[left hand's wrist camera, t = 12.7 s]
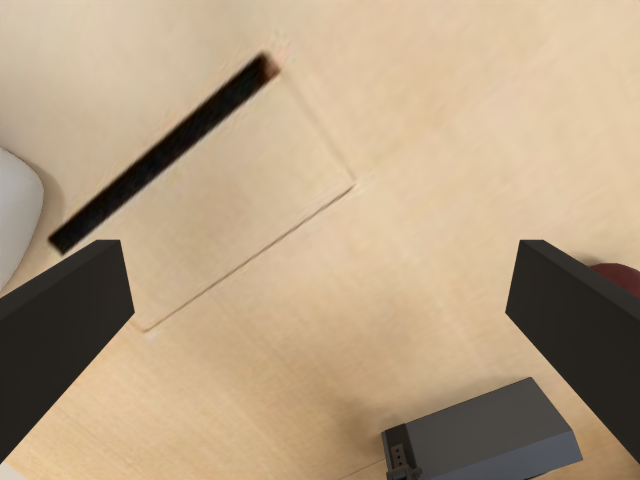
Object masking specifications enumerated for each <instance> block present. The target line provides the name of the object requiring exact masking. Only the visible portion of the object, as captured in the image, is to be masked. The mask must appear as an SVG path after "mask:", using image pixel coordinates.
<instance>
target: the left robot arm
mask: <svg viewBox="0 0 640 480" xmlns="http://www.w3.org/2000/svg"><path fill="white" fill-rule="evenodd" d="M134 313H135V311H134V306H133V301H132V296H131V291H130V286H129V281H128V277H127V272H126V267H125V262H124V257H123V252H122V247H121V242H120V240H96V241H94V242H92V243H91V244H89V245H87V246H86V247H84V248H82V249H81V250H79V251H77V252H76V253H74V254H73V255H71V256H69V257H68V258H66V259H64V260H63V261H61V262H59V263H58V264H56V265H54V266H53V267H51V268H49V269H48V270H46V271H45V272H43V273H41V274H40V275H38V276H36V277H35V278H33V279H31V280H30V281H28V282H26V283H25V284H23V285H22V286H20V287H18V288H17V289H15V290H13V291H12V292H10V293H8V294H7V295H5V296H3V297H2V298H0V464H1V463H2V462H3V461H4V460H5V459H6V457H7V456H8V455H9V454H10V453H11V452H12V451H13V449H14V448H15V447H16V446H17V445H18V444H19V443H20V442H21V440H22V439H23V438H24V437H25V436H26V435H27V434H28V433H29V431H30V430H31V429H32V428H33V427H34V426H35V425H36V424H37V422H38V421H39V420H40V419H41V418H42V417H43V416H44V415H45V413H46V412H47V411H48V410H49V409H50V408H51V407H52V406H53V404H54V403H55V402H56V401H57V400H58V399H59V398H60V397H61V395H62V394H63V393H64V392H65V391H66V390H67V389H68V387H69V386H70V385H71V384H72V383H73V382H74V381H75V380H76V378H77V377H78V376H79V375H80V374H81V373H82V372H83V371H84V369H85V368H86V367H87V366H88V365H89V364H90V363H91V362H92V360H93V359H94V358H95V357H96V356H97V355H98V354H99V353H100V351H101V350H102V349H103V348H104V347H105V346H106V345H107V344H108V342H109V341H110V340H111V339H112V338H113V337H114V336H115V335H116V333H117V332H118V331H119V330H120V329H121V328H122V327H123V326H124V324H125V323H126V322H127V321H128V320H129V319H130V318H131V316H132V315H133V314H134ZM505 313H506V314H507V315H508V316H509V318H510V319H511V320H512V321H513V322H514V323H515V324H516V326H517V327H518V328H519V329H520V330H521V331H522V332H523V333H524V335H525V336H526V337H527V338H528V339H529V340H530V341H531V342H532V344H533V345H534V346H535V347H536V348H537V349H538V350H539V351H540V353H541V354H542V355H543V356H544V357H545V358H546V359H547V360H548V362H549V363H550V364H551V365H552V366H553V367H554V368H555V369H556V371H557V372H558V373H559V374H560V375H561V376H562V377H563V378H564V380H565V381H566V382H567V383H568V384H569V385H570V386H571V387H572V389H573V390H574V391H575V392H576V393H577V394H578V395H579V397H580V398H581V399H582V400H583V401H584V402H585V403H586V404H587V406H588V407H589V408H590V409H591V410H592V411H593V412H594V413H595V415H596V416H597V417H598V418H599V419H600V420H601V421H602V422H603V424H604V425H605V426H606V427H607V428H608V429H609V430H610V431H611V433H612V434H613V435H614V436H615V437H616V438H617V439H618V440H619V442H620V443H621V444H622V445H623V446H624V447H625V448H626V449H627V451H628V452H629V453H630V454H631V455H632V456H633V457H634V459H635V460H636V461H637V462H638V463H639V464H640V298H638V297H637V296H635V295H633V294H632V293H630V292H628V291H627V290H625V289H623V288H622V287H620V286H618V285H617V284H615V283H614V282H612V281H610V280H609V279H607V278H605V277H604V276H602V275H600V274H599V273H597V272H595V271H594V270H592V269H591V268H589V267H587V266H586V265H584V264H582V263H581V262H579V261H577V260H576V259H574V258H572V257H571V256H569V255H567V254H566V253H564V252H563V251H561V250H559V249H558V248H556V247H554V246H553V245H551V244H549V243H548V242H546V241H544V240H520V242H519V247H518V252H517V257H516V262H515V267H514V272H513V277H512V281H511V286H510V291H509V296H508V301H507V306H506V311H505Z"/></svg>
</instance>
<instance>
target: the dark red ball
mask: <svg viewBox="0 0 640 480" xmlns="http://www.w3.org/2000/svg"><path fill="white" fill-rule="evenodd" d="M590 268H591V269H592V270H594V271H595V272H597V273H599V274H600V275H602V276H604V277H605V278H607V279H609V280H610V281H612V282H614V283H615V284H617V285H618V286H620V287H622V288H623V289H625V290H627V291H628V292H630V293H632V294H633V295H635V296H637V297H638V298H640V272H639V271H638V270H636V269H633V268H630V267H628V266H625V265H621V264H617V263H606V264H598V265H595V266H592V267H590Z"/></svg>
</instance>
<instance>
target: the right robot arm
mask: <svg viewBox="0 0 640 480" xmlns="http://www.w3.org/2000/svg"><path fill="white" fill-rule="evenodd" d="M385 435H386V440H387V445H388V451H389V456H390V461H391V466H392V470H391V471H388V472H387V473H386V475H387V480H418V478H419V477H420V475H421V474H422V473H423V471H422V469H421V467H419V468H418V467H417V463H416V459H415V456H414V452H413V448H412V444H411V441H410V437H409V433H408V429H407V427H406V425H405V423H404V424H401V425H398V426H396V427H393V428H390V429H388V430H385Z"/></svg>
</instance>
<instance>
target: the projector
mask: <svg viewBox="0 0 640 480" xmlns="http://www.w3.org/2000/svg"><path fill="white" fill-rule="evenodd" d="M43 199H44V188H43V184H42V182H41V180H40V178H39V176H38V175H37V174H36V173H35V172H34V171H33V170H32V169H31V168H30V167H29V166H28V165H27V164H26V163H24V162H23V161H22V160H20V159H19V158H17V157H16V156H14V155H12V154H11V153H9V152H7V151H6V150H4V149H2V148H0V291H1V290H2V288H3V287H4V286H5V285H6V283H7V282H8V281H9V279H10V278H11V276H12V275H13V273H14V272H15V270H16V269H17V267H18V265H19V264H20V262H21V260H22V258H23V256H24V254H25V252H26V250H27V248H28V246H29V244H30V241H31V239H32V236H33V234H34V232H35V229H36V226H37V223H38V221H39V217H40V214H41V210H42V206H43Z"/></svg>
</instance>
